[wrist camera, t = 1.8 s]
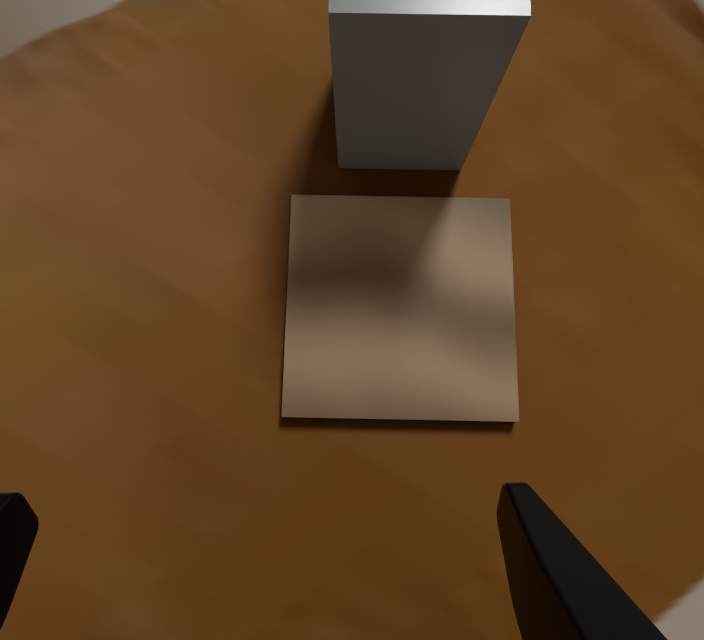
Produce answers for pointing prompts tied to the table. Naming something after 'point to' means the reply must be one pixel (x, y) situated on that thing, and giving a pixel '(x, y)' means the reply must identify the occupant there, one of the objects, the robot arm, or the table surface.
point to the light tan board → (400, 309)
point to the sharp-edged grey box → (417, 77)
